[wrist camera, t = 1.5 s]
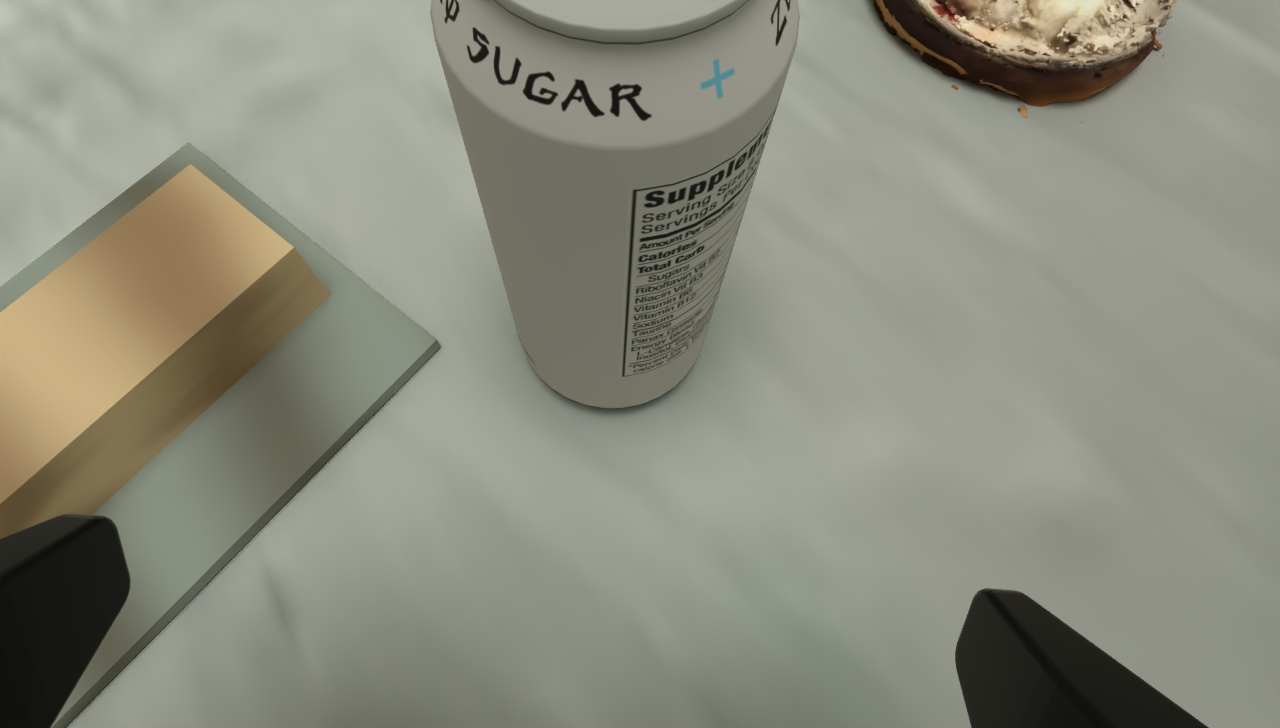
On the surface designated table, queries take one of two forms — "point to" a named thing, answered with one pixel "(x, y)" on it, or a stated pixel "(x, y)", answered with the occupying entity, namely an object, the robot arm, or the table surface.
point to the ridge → (183, 383)
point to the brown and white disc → (1030, 42)
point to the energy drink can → (614, 169)
